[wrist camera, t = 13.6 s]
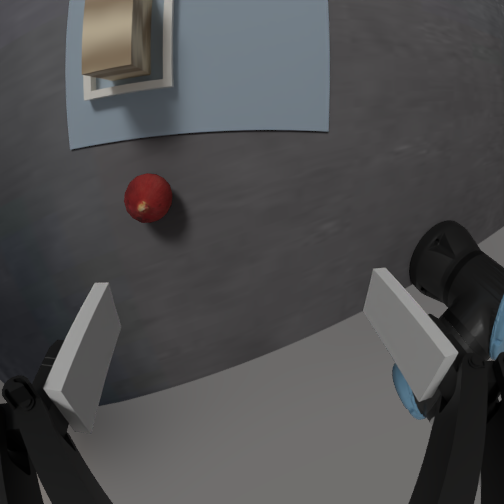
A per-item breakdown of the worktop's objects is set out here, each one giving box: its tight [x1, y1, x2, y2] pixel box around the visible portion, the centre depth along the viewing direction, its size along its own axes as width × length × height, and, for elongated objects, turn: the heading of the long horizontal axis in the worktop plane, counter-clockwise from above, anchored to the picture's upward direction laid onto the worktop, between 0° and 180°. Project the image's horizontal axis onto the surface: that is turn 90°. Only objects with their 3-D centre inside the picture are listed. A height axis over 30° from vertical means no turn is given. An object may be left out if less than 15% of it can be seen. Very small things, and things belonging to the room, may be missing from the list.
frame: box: [83, 0, 174, 101], centre depth 26 cm, size 11×16×2 cm
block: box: [82, 0, 152, 81], centre depth 22 cm, size 12×5×10 cm, turn 0°
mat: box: [66, 0, 330, 150], centre depth 29 cm, size 34×22×1 cm, turn 90°
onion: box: [124, 174, 172, 223], centre depth 34 cm, size 6×6×8 cm
